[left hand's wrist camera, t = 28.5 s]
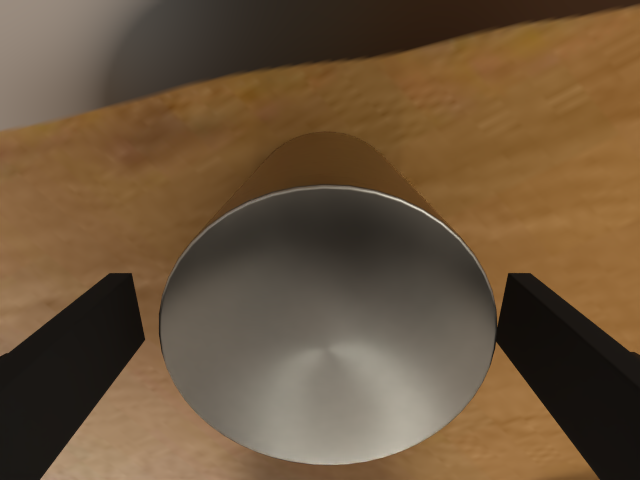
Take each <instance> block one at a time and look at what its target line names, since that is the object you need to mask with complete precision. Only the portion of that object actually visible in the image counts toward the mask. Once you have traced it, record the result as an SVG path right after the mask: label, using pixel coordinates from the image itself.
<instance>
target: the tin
mask: <svg viewBox="0 0 640 480" xmlns="http://www.w3.org/2000/svg"><path fill="white" fill-rule="evenodd" d="M496 336H497V313H496V306H495V301H494V296H493V291H492V288H491V286H490V283H489V281H488V278H487V276H486V273H485V271H484V269H483V268H482V266H481V264H480V263H479V261H478V259H477V257H476V256H475V254H474V253H473V252H472V250H471V249H470V248H469V247H468V246H467V244H466V243H465V242H464V241H463V239H462V238H461V237H460V236H459V235H458V234H457V233H456V232H455V231H454V230H453V229H452V228H451V227H450V226H449V225H448V223H447V222H446V221H445V220H444V219H443V218H442V217H441V216H440V215H439V214H438V213H437V212H436V211H435V210H434V209H433V208H432V207H431V206H430V205H429V204H428V203H427V202H426V201H425V200H424V199H423V197H422V196H421V195H420V194H419V193H418V192H417V191H416V190H415V189H414V188H413V187H412V186H411V185H410V184H409V183H408V182H407V181H406V180H405V179H404V178H403V177H402V176H401V175H400V174H399V173H398V171H397V170H396V169H395V168H394V167H393V166H392V165H391V164H390V163H389V162H388V161H387V160H386V159H385V158H384V157H383V156H382V155H381V154H380V153H379V152H378V151H377V150H376V149H374V148H373V147H372V146H370V145H369V144H367V143H366V142H364V141H362V140H360V139H358V138H356V137H353V136H350V135H346V134H342V133H336V132H316V133H310V134H306V135H302V136H300V137H297V138H294V139H292V140H290V141H288V142H287V143H285V144H283V145H282V146H280V147H279V148H278V149H276V150H275V151H274V152H273V153H272V154H271V155H270V156H269V157H268V158H267V159H266V160H265V161H264V162H263V164H262V165H261V166H260V167H259V168H258V169H257V170H256V171H255V172H254V173H253V174H252V176H251V177H250V178H249V179H248V180H247V181H246V182H245V183H244V184H243V185H242V186H241V188H240V189H239V190H238V191H237V192H236V193H235V194H234V195H233V196H232V197H231V198H230V200H229V201H228V202H227V203H226V204H225V205H224V206H223V207H222V208H221V209H220V210H219V212H218V213H217V214H216V215H215V216H214V217H213V218H212V219H211V220H210V221H209V222H208V224H207V225H206V226H205V227H204V228H203V229H202V230H201V231H200V232H199V233H198V234H197V236H196V237H195V238H194V239H193V240H192V241H191V242H190V244H189V245H188V246H187V248H186V249H185V250H184V252H183V253H182V254H181V255H180V257H179V258H178V260H177V262H176V264H175V266H174V267H173V269H172V271H171V273H170V275H169V277H168V280H167V283H166V286H165V289H164V292H163V294H162V300H161V306H160V312H159V337H160V344H161V350H162V354H163V357H164V360H165V364H166V367H167V370H168V372H169V374H170V376H171V378H172V380H173V382H174V384H175V386H176V387H177V389H178V390H179V392H180V393H181V395H182V396H183V398H184V399H185V401H186V402H187V403H188V404H189V405H190V406H191V408H192V409H193V410H194V411H195V412H196V413H197V414H198V415H199V416H200V417H201V418H202V419H203V420H204V421H206V422H207V423H208V424H209V425H210V426H211V427H213V428H214V429H216V430H217V431H218V432H220V433H221V434H223V435H224V436H226V437H227V438H229V439H231V440H233V441H234V442H236V443H238V444H240V445H242V446H244V447H246V448H249V449H251V450H253V451H256V452H258V453H261V454H264V455H267V456H270V457H273V458H277V459H282V460H286V461H291V462H297V463H304V464H315V465H341V464H352V463H359V462H366V461H370V460H375V459H379V458H383V457H386V456H389V455H392V454H395V453H398V452H401V451H403V450H406V449H408V448H410V447H412V446H414V445H416V444H419V443H420V442H422V441H424V440H425V439H427V438H429V437H431V436H432V435H434V434H435V433H437V432H438V431H439V430H441V429H442V428H443V427H445V426H446V425H447V424H449V423H450V422H451V421H452V420H453V419H454V418H455V417H456V416H457V415H458V414H459V413H460V412H461V411H462V410H463V409H464V408H465V407H466V406H467V404H468V403H469V402H470V401H471V399H472V398H473V397H474V395H475V394H476V392H477V391H478V389H479V387H480V386H481V384H482V383H483V381H484V378H485V376H486V374H487V372H488V369H489V367H490V365H491V361H492V357H493V354H494V350H495V345H496Z"/></svg>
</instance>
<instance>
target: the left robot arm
mask: <svg viewBox="0 0 640 480" xmlns="http://www.w3.org/2000/svg"><path fill="white" fill-rule="evenodd" d="M144 341H145V336H144V332H143V327H142V322H141V317H140V312H139V307H138V302H137V297H136V292H135V287H134V282H133V277H132V273H109V274H108V275H107V276H106V277H104V278H103V279H102V280H100V281H99V282H98V283H97V284H95V285H94V286H93V287H92V288H90V289H89V290H88V291H87V292H85V293H84V294H83V295H81V296H80V297H79V298H78V299H76V300H75V301H74V302H73V303H71V304H70V305H69V306H68V307H66V308H65V309H64V310H62V311H61V312H60V313H59V314H57V315H56V316H55V317H54V318H52V319H51V320H50V321H49V322H47V323H46V324H45V325H43V326H42V327H41V328H40V329H38V330H37V331H36V332H35V333H33V334H32V335H31V336H30V337H28V338H27V339H26V340H24V341H23V342H22V343H21V344H19V345H18V346H17V347H16V348H14V349H13V350H12V351H11V352H9V353H6V354H4V355H2V356H0V480H40V479H41V478H42V476H43V475H44V474H45V472H46V471H47V470H48V468H49V467H50V466H51V464H52V463H53V462H54V460H55V459H56V458H57V456H58V455H59V454H60V452H61V451H62V450H63V448H64V447H65V446H66V444H67V443H68V442H69V440H70V439H71V438H72V436H73V435H74V434H75V432H76V431H77V430H78V428H79V427H80V426H81V424H82V423H83V422H84V420H85V419H86V418H87V416H88V415H89V414H90V412H91V411H92V410H93V408H94V407H95V406H96V404H97V403H98V402H99V400H100V399H101V398H102V396H103V395H104V394H105V392H106V391H107V390H108V388H109V387H110V386H111V384H112V383H113V382H114V380H115V379H116V378H117V376H118V375H119V374H120V372H121V371H122V370H123V369H124V367H125V366H126V365H127V363H128V362H129V361H130V359H131V358H132V357H133V355H134V354H135V353H136V351H137V350H138V349H139V347H140V346H141V345H142V343H143V342H144ZM496 342H497V343H498V345H499V346H500V347H501V349H502V350H503V351H504V353H505V354H506V355H507V357H508V358H509V359H510V361H511V362H512V363H513V365H514V366H515V367H516V369H517V370H518V371H519V372H520V374H521V375H522V376H523V378H524V379H525V380H526V382H527V383H528V384H529V386H530V387H531V388H532V390H533V391H534V392H535V394H536V395H537V396H538V398H539V399H540V400H541V402H542V403H543V404H544V406H545V407H546V408H547V410H548V411H549V412H550V414H551V415H552V416H553V418H554V419H555V420H556V422H557V423H558V424H559V426H560V427H561V428H562V430H563V431H564V432H565V434H566V435H567V436H568V438H569V439H570V440H571V442H572V443H573V444H574V446H575V447H576V448H577V450H578V451H579V452H580V454H581V455H582V456H583V458H584V459H585V460H586V462H587V463H588V464H589V466H590V467H591V468H592V470H593V471H594V472H595V474H596V475H597V476H598V478H599V479H600V480H640V355H639V354H637V353H635V352H629V351H628V350H627V349H626V348H624V347H623V346H622V345H621V344H619V343H618V342H617V341H616V340H614V339H613V338H612V337H610V336H609V335H608V334H607V333H605V332H604V331H603V330H602V329H600V328H599V327H598V326H597V325H595V324H594V323H593V322H591V321H590V320H589V319H588V318H586V317H585V316H584V315H583V314H581V313H580V312H579V311H578V310H576V309H575V308H574V307H572V306H571V305H570V304H569V303H567V302H566V301H565V300H564V299H562V298H561V297H560V296H559V295H557V294H556V293H555V292H553V291H552V290H551V289H550V288H548V287H547V286H546V285H545V284H543V283H542V282H541V281H540V280H538V279H537V278H536V277H534V276H533V275H532V274H531V273H508V277H507V282H506V287H505V292H504V297H503V302H502V307H501V312H500V317H499V322H498V327H497V336H496Z"/></svg>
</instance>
